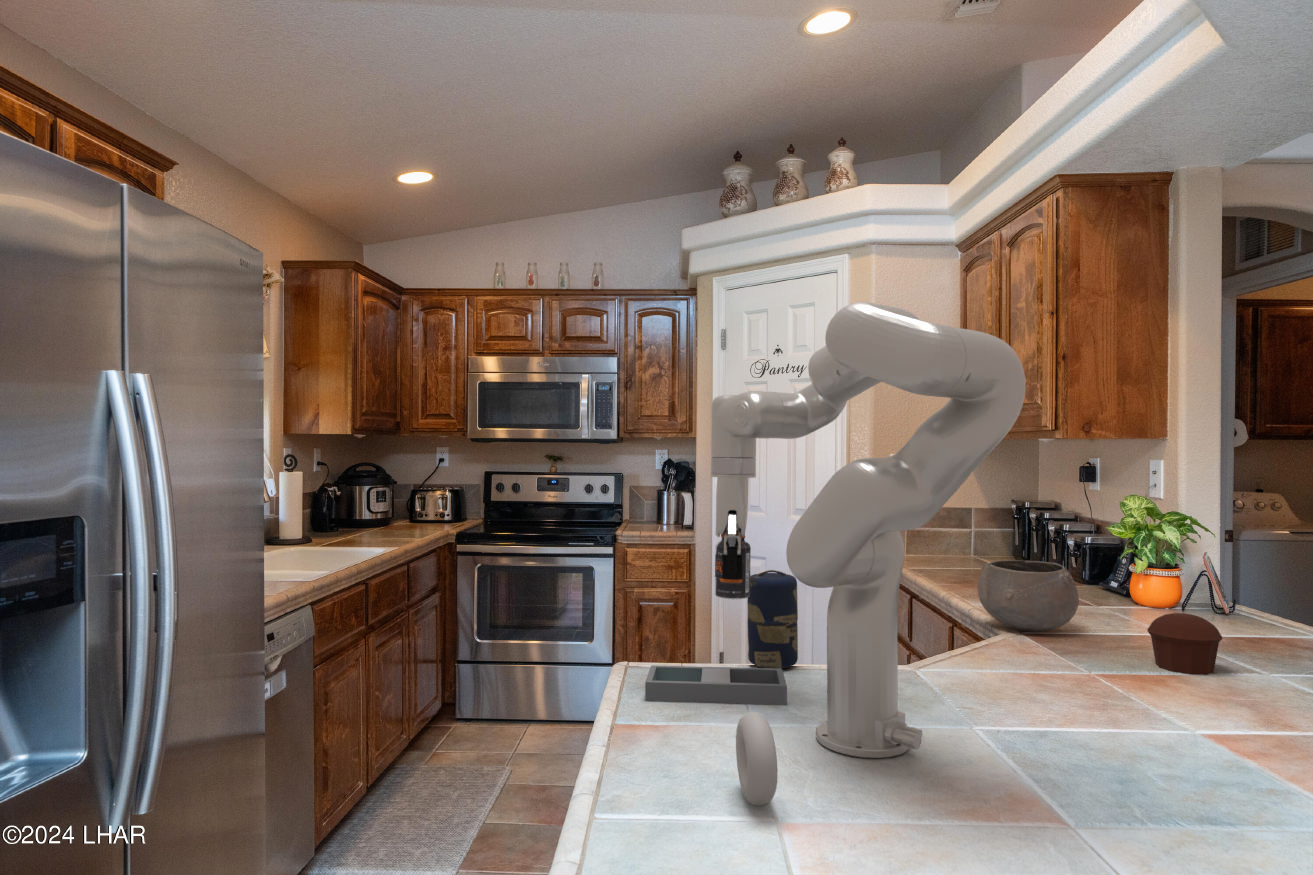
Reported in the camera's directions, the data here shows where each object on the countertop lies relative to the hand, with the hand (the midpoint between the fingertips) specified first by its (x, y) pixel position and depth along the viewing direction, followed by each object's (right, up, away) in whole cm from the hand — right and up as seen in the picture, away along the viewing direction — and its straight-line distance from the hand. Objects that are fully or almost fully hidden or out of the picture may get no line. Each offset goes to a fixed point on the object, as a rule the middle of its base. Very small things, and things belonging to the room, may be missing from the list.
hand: (732, 574), depth 127 cm
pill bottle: (0, -4, 0) cm, 4 cm away
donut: (-1, -19, -40) cm, 45 cm away
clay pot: (+73, -21, +48) cm, 90 cm away
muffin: (+87, -21, +15) cm, 90 cm away
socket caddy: (-3, -20, -1) cm, 20 cm away
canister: (+9, -20, +17) cm, 28 cm away
